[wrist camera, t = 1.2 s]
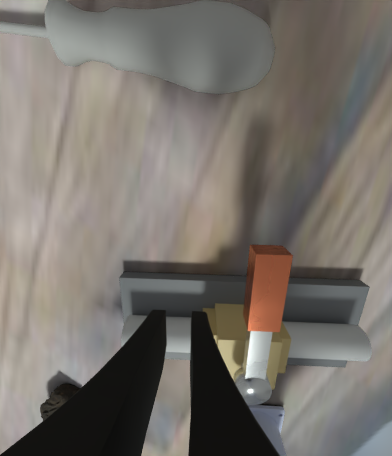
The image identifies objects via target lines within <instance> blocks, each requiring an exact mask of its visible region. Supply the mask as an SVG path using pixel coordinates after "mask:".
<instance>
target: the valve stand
mask: <svg viewBox="0 0 392 456" xmlns="http://www.w3.org/2000/svg"><path fill="white" fill-rule="evenodd" d="M246 279H247V276H228V275H200V274H172V273H144V272H123V274H122V275H121V276H120V277H119V281H120V291H121V301H122V311H123V321H124V326H123V330H122V336H121V346H123V345H124V344H125V343H126V342H127V341H128V339H129V338H130V337H131V336H132V335H133V334H134V332H135V331H136V330H137V329H138V327H139V326H140V325H141V324H142V322H143V321H144V320H145V319H146V317H147V316H148V315H149V313H150V312H151V311H152V310H166V334H167V346H166V353H165V359H179V360H190V348H191V317H192V311H201V312H206V313H207V315H208V320H209V324H210V327H211V330H212V333H213V336H214V339H215V341H216V344H217V346H218V349H219V351H220V353H221V356H222V358H223V360H224V362H225V364H226V366H227V368H228V370H229V372H230V374H231V376H232V378H233V376H234V373H235V372H236V371H237V370H238V369H239V368H241V367H243V358H244V349H245V340H246V331H247V327H246V324H245V320H244V316H243V308H244V298H245V288H246ZM369 288H370V287H369V286H368V285H366V284H365V283H363V282H362V281H360V280H341V279H312V278H289V281H288V287H287V293H286V299H285V305H284V310H283V316H282V322H281V328H280V332H273V333H272V339H271V346H270V352H269V358H268V364H267V371H266V373H267V376H268V379H269V382H270V386H271V389H273V390H274V388H275V383H276V377H277V373H285V370H286V365H304V366H325V367H345V366H346V363H347V360H351V361H368V360H369V359H370V358H371V354H372V348H371V344H370V341H369V339H368V337H367V335H366V333H365V332H364V331H363V330H362V329H361V328H360V327H359V326H358V324H359V320H360V317H361V314H362V311H363V307H364V304H365V301H366V297H367V294H368V291H369Z"/></svg>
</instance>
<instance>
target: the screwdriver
mask: <svg viewBox="0 0 392 456" xmlns="http://www.w3.org/2000/svg"><path fill="white" fill-rule="evenodd" d="M45 25H46V26H37V25H29V24H20V23H12V22H3V21H0V33H8V34H16V35H25V36H33V37H42V38H49V41H50V43H51V45H52V47H53V49H54V51H55V53H56V55H57V57H58V59H59V60H60V61H61V62H62V63H63V64H64V65H65V66H79V65H81V64H83V63H85V62H89V61H99V62H103V63H107V64H110V65H111V66H112V67H114V68H115V69H117V70H124V71H132V72H139V73H143V74H148V75H152V76H155V77H158V78H161V79H164V80H167V81H169V82H172V83H175V84H178V85H181V86H183V87H185V88H188V89H190V90H192V91H195V92H203V93H212V94H224V93H232V92H237V91H241V90H245V89H249V88H252V87H254V86H255V85H257V84H258V83H259V82H260V81H261V80H262V79H263V78H264V76H265V75H266V74H267V73H268V72H269V70H270V68H271V64H272V61H273V57H274V53H275V46H274V42H273V38H272V34H271V31H270V27H269V26H268V24H267V23H266V22H265V21H264V20H263V19H261V18H260V17H258V16H256V15H255V14H253V13H252V12H250V11H249V10H246V9H244V8H242V7H240V6H237V5H235V4H233V3H227V2H219V1H212V0H200V1H196V2H192V3H188V4H182V5H176V6H169V7H163V8H156V9H131V8H122V7H112V8H110V9H109V10H107V11H104V12H90V11H84V10H81V9H79V8H77V7H75V6H73V5H72V4H70V3H69V2H67V1H66V0H48V3H47V5H46V8H45Z"/></svg>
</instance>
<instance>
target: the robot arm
mask: <svg viewBox="0 0 392 456" xmlns="http://www.w3.org/2000/svg"><path fill="white" fill-rule="evenodd" d="M166 346H167V334H166V310H152V311H151V312H150V313H149V315H148V316H147V317H146V319H145V320H144V321H143V322H142V324H141V325H140V326H139V327H138V329H137V330H136V331H135V332H134V334H133V335H132V336H131V337H130V338H129V339H128V341H127V342H126V343H125V344H124V345H123V346H122V347H121V349H120V350H119V351H118V352H117V353H116V354H115V355H114V356H113V357H112V358H111V359H110V360H109V361H108V362H107V364H106V365H105V366H104V367H103V368H102V369H101V370H100V371H99V372H98V373H97V374H96V375H95V376H94V377H93V378H92V379H90V380H89V381H88V382H87V383H86V384H85V385H84V386H83V387H82V388H81V389H80V390H79V391H78V392H77V393H75V394H74V395H73V396H72V397H71V398H70V399H69V400H67V401H66V402H65V403H64V404H63V405H62V406H61V407H59V408H58V409H57V410H56V411H55V412H54V413H52V414H51V415H50V416H49V417H48V418H46V419H45V420H44V421H43V422H42V423H40V424H39V425H38V426H37V427H35V428H34V429H33V430H31V431H30V432H29V433H28V434H26V435H25V436H24V437H22V438H21V439H20V440H19V441H17V442H16V443H15V444H14V445H12V446H11V447H10V448H8V449H7V450H6V451H5V452H3V453H2V454H1V455H0V456H141V454H142V449H143V444H144V440H145V436H146V431H147V428H148V424H149V420H150V416H151V412H152V409H153V405H154V401H155V397H156V393H157V390H158V386H159V382H160V378H161V374H162V370H163V365H164V359H165V353H166ZM190 387H191V422H190V439H189V456H286V452H285V449H284V446H283V442H282V439H281V435H280V433H281V428H282V424H283V419H284V414H285V410H284V408H283V407H281V406H264V405H247V404H246V402H245V400H244V398H243V397H242V395H241V393H240V391H239V390H238V388H237V386H236V384H235V382H234V380H233V378H232V376H231V374H230V372H229V370H228V368H227V366H226V364H225V362H224V360H223V358H222V356H221V353H220V351H219V349H218V346H217V344H216V341H215V339H214V336H213V333H212V330H211V327H210V324H209V320H208V315H207V313H206V312H201V311H192V317H191V348H190Z"/></svg>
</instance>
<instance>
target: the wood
mask: <svg viewBox="0 0 392 456" xmlns="http://www.w3.org/2000/svg"><path fill="white" fill-rule="evenodd" d="M79 390H80V389H79V388H77V387H76V386H74V385H70V384H62V385H60V386H59V387H57V389H56V390H54V391H53V392H52V394H51V397H50V398H49V399H47V400H46V401H45V403H43V404H42V405H41V407H40V412H41V415H42V416H41V417H42V418H43V421H44V420H45V419H46V418H48V417H49V416H50V415H51V414H52V413H54V412H55V411H56V410H57V409H58V408H59V407H61V406H62V405H63V404H64V403H65V402H66V401H67V400H69V399H70V398H71V397H72V396H73V395H74V394H75V393H77V392H78V391H79Z"/></svg>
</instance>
